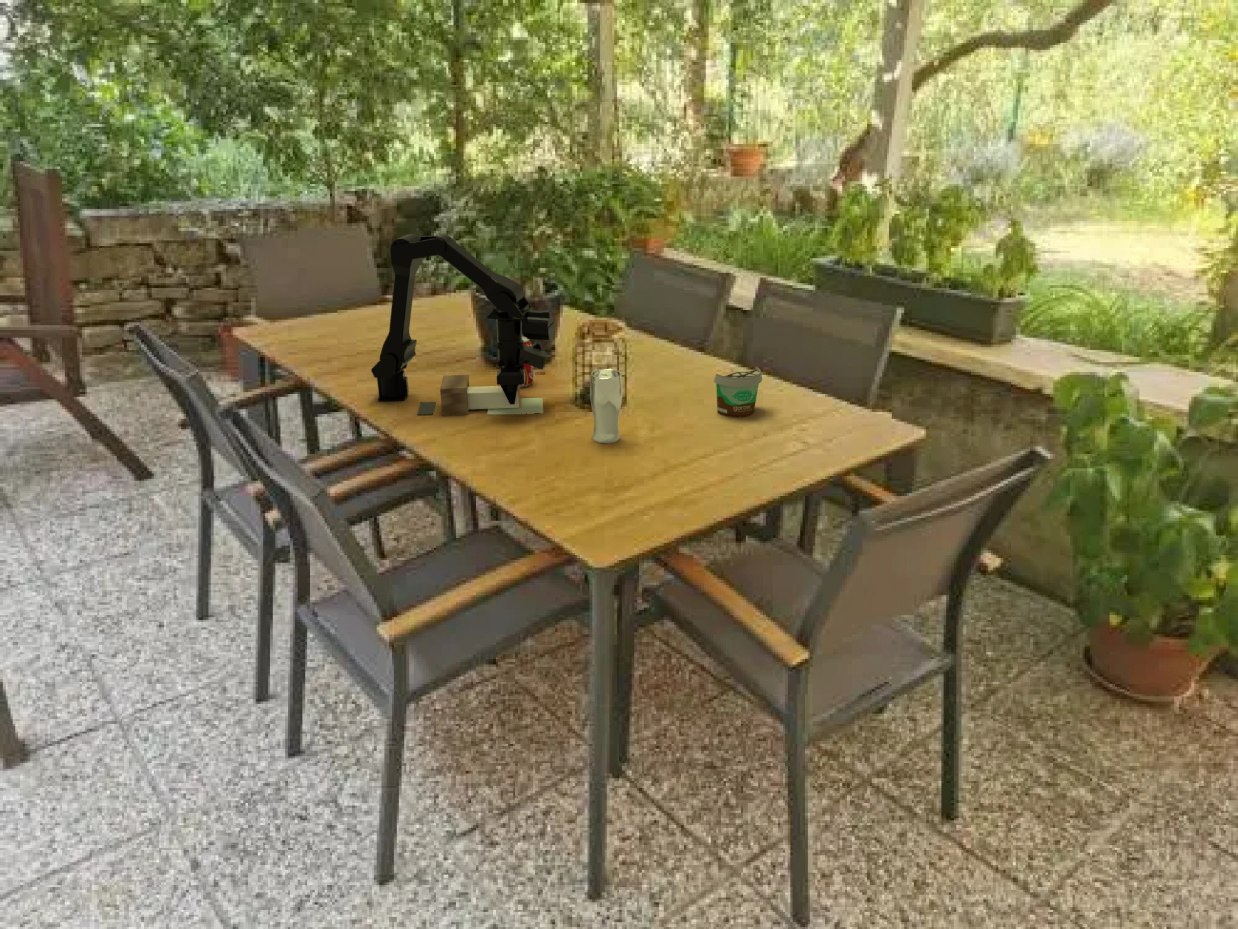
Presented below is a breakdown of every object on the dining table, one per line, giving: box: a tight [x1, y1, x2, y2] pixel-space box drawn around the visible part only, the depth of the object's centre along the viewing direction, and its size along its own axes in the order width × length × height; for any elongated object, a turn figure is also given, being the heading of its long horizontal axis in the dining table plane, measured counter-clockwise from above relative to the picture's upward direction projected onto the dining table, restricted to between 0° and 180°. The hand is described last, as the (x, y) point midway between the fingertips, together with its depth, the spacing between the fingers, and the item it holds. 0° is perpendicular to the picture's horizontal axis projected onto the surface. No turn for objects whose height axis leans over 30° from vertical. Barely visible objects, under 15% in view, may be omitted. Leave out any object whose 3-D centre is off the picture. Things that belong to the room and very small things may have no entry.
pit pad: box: [416, 401, 437, 416], centre depth 212 cm, size 4×8×1 cm, turn 6°
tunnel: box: [439, 374, 470, 416], centre depth 212 cm, size 6×9×7 cm, turn 6°
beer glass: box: [589, 368, 623, 444], centre depth 194 cm, size 7×7×15 cm
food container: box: [713, 366, 763, 418], centre depth 209 cm, size 12×6×10 cm, turn 117°
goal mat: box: [487, 397, 544, 416], centre depth 214 cm, size 13×10×1 cm
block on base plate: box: [467, 385, 522, 410], centre depth 212 cm, size 14×4×6 cm, turn 96°
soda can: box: [520, 335, 534, 388], centre depth 226 cm, size 7×7×12 cm
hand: (512, 400), depth 214 cm, fingers closed on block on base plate, 4 cm apart
